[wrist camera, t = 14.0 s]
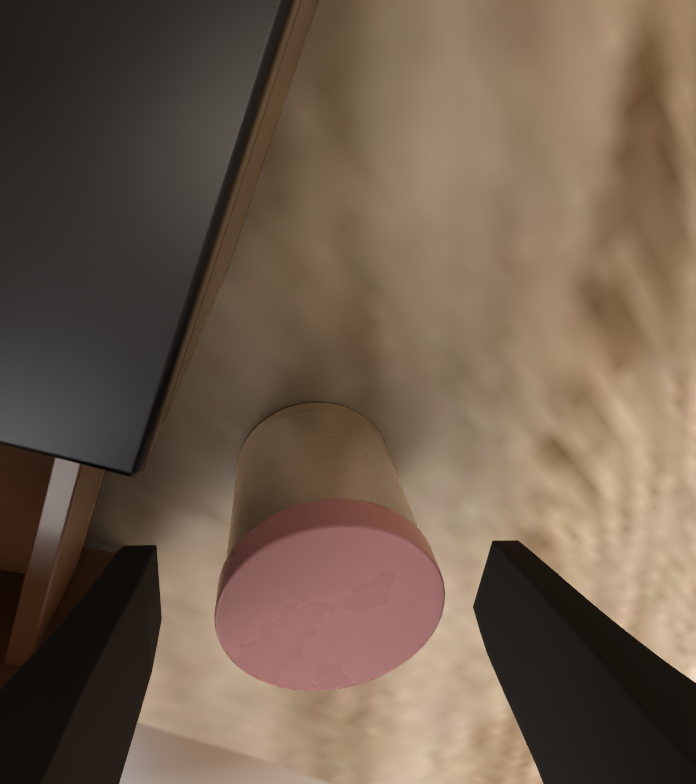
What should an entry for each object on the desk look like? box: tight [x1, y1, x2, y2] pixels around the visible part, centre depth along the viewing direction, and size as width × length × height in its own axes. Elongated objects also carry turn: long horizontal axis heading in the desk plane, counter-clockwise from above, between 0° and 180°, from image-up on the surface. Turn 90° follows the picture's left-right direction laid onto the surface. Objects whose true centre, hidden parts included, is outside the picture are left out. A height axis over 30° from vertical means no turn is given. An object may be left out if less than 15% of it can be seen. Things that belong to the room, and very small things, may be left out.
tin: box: [215, 403, 445, 691], centre depth 12 cm, size 5×5×5 cm
